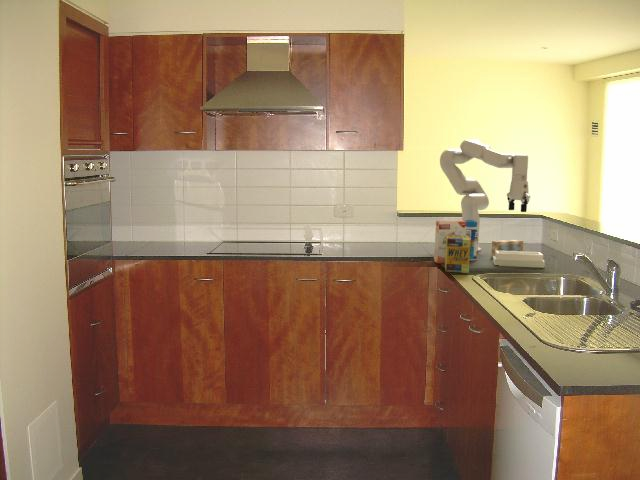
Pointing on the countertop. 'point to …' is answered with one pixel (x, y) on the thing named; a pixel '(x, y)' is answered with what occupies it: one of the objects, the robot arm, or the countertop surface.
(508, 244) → the picture frame
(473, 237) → the beverage bottle
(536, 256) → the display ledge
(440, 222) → the cracker box
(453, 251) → the protein box
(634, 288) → the countertop surface
